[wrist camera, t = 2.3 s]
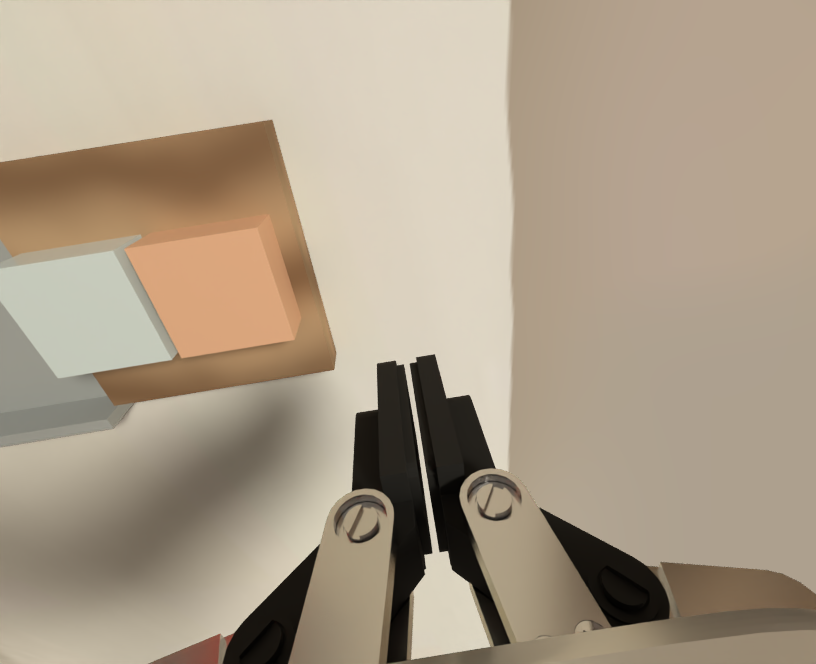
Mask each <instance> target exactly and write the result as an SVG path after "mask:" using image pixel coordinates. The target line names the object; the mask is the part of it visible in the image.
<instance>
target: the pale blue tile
mask: <svg viewBox="0 0 816 664" xmlns="http://www.w3.org/2000/svg"><path fill="white" fill-rule="evenodd" d="M141 238H142V237H141V234H140V235H134V236H128V237H121V238H115V239H109V240H103V241H96V242H90V243H84V244H78V245H71V246H65V247H59V248H52V249H46V250H40V251H34V252H27V253H21V254H19V255H17V256H14V257H12V258H10V259H7V260H5V261H3V262H1V263H0V301H1V303H2V304H3V305H4V307H5V308H6V310H7V311H8V312H9V314H10V315H11V316H12V318H13V319H14V320H15V322H16V323H17V324H18V326H19V327H20V328H21V330H22V331H23V332H24V334H25V335H26V336H27V338H28V339H29V340H30V342H31V343H32V344H33V346H34V347H35V348H36V350H37V351H38V352H39V354H40V355H41V356H42V358H43V359H44V360H45V362H46V363H47V364H48V366H49V367H50V368H51V370H52V371H53V372H54V374H55V375H56V376H57V378H64V377H70V376H76V375H83V374H89V373H95V372H101V371H107V370H113V369H119V368H126V367H132V366H138V365H144V364H150V363H156V362H162V361H168V360H172V359H173V358H174V357H175V355H176V354H177V353H178V351H177V349H176V347H175V345H174V343H173V341H172V339H171V337H170V336H169V334H168V332H167V330H166V328H165V326H164V324H163V322H162V320H161V318H160V317H159V315H158V313H157V311H156V309H155V307H154V305H153V303H152V301H151V299H150V298H149V296H148V294H147V292H146V290H145V288H144V286H143V284H142V282H141V280H140V279H139V277H138V275H137V273H136V271H135V269H134V267H133V265H132V263H131V261H130V259H129V258H128V256H127V254H126V252H125V250H124V249H125V248H126V247H128V246H130V245H131V244H133V243H135V242H136V241H138V240H139V239H141Z"/></svg>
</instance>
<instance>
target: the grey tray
mask: <svg viewBox="0 0 816 664" xmlns="http://www.w3.org/2000/svg"><path fill="white" fill-rule="evenodd" d="M10 258H12V256H11V254H10V253H9V251H8V250H7V248H6V247H5V245H4V244H3V243H2V241H1V240H0V263H1V262H3V261H5V260H7V259H10ZM132 404H133V403H129V404H123V405H117V406H114V405H113V403H112V402H111V400H110V399H109V397H108V396H107V394H106V393H105V391H104V390H103V389H102V387H101V386H100V384H99V383H98V381H97V380H96V378H95V377H94V375H93V374H92V373H89V374H83V375H76V376H70V377H64V378H57V376H56V375H55V374H54V372H53V371H52V370H51V368H50V367H49V366H48V364H47V363H46V362H45V360H44V359H43V358H42V356H41V355H40V354H39V352H38V351H37V350H36V348H35V347H34V346H33V344H32V343H31V342H30V340H29V339H28V338H27V336H26V335H25V334H24V332H23V331H22V330H21V328H20V327H19V326H18V324H17V323H16V322H15V320H14V319H13V318H12V316H11V315H10V314H9V312H8V311H7V310H6V308H5V307H4V305H3V304H2V303H1V301H0V447H6V446H12V445H18V444H24V443H30V442H36V441H42V440H48V439H54V438H60V437H66V436H72V435H79V434H85V433H91V432H97V431H103V430H109V429H114V428H115V426H116V425H117V424H118V423H119V421H120V420H121V419H122V417H123V416H124V415H125V414H126V412H127V411H128V410H129V408H130V407H131V406H132Z"/></svg>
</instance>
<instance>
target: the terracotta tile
mask: <svg viewBox="0 0 816 664" xmlns="http://www.w3.org/2000/svg"><path fill="white" fill-rule="evenodd" d="M124 250H125V252H126V254H127V256H128V258H129V259H130V261H131V263H132V265H133V267H134V269H135V271H136V273H137V275H138V277H139V279H140V280H141V282H142V284H143V286H144V288H145V290H146V292H147V294H148V296H149V298H150V299H151V301H152V303H153V305H154V307H155V309H156V311H157V313H158V315H159V317H160V318H161V320H162V322H163V324H164V326H165V328H166V330H167V332H168V334H169V336H170V337H171V339H172V341H173V343H174V345H175V347H176V349H177V351H178V353H179V355H180V357H181V358H187V357H193V356H199V355H205V354H211V353H218V352H224V351H230V350H236V349H242V348H248V347H254V346H260V345H267V344H273V343H279V342H285V341H291V340H295V337H296V334H297V331H298V327H299V324H300V321H301V315H300V311H299V308H298V305H297V302H296V299H295V295H294V292H293V289H292V286H291V283H290V279H289V276H288V273H287V270H286V267H285V264H284V260H283V257H282V254H281V251H280V248H279V244H278V241H277V238H276V235H275V232H274V228H273V225H272V222H271V219H270V216H269V214H266V215H260V216H253V217H247V218H241V219H234V220H228V221H222V222H216V223H209V224H203V225H197V226H191V227H184V228H178V229H172V230H165V231H159V232H153V233H149V234H148V235H146V236H144V237H143V238H141V239H139V240H138V241H136V242H135V243H133V244H131V245H130V246H128V247H126V248H125V249H124Z"/></svg>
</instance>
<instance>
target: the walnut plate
mask: <svg viewBox="0 0 816 664" xmlns="http://www.w3.org/2000/svg"><path fill="white" fill-rule="evenodd" d="M266 214H269V216H270V219H271V222H272V225H273V228H274V232H275V235H276V238H277V241H278V244H279V248H280V251H281V254H282V257H283V260H284V264H285V267H286V270H287V273H288V276H289V279H290V283H291V286H292V289H293V292H294V295H295V299H296V302H297V305H298V308H299V311H300V315H301V321H300V324H299V327H298V331H297V334H296V337H295V340H291V341H285V342H279V343H273V344H267V345H260V346H254V347H248V348H242V349H236V350H230V351H224V352H218V353H211V354H205V355H199V356H193V357H187V358H181V357H180V355H179V353H177V354H176V355H175V357H174V358H173V359H172V360H168V361H162V362H156V363H150V364H144V365H138V366H132V367H126V368H119V369H113V370H107V371H101V372H95V373H92V374H93V375H94V377H95V378H96V380H97V381H98V383H99V384H100V386H101V387H102V389H103V390H104V391H105V393H106V394H107V396H108V397H109V399H110V400H111V402H112V403H113V405H114V406H117V405H123V404H129V403H135V402H141V401H147V400H153V399H159V398H165V397H171V396H178V395H184V394H190V393H196V392H202V391H208V390H214V389H220V388H226V387H232V386H239V385H245V384H251V383H257V382H263V381H269V380H275V379H281V378H287V377H293V376H300V375H306V374H312V373H318V372H324V371H330V370H334V368H335V359H336V350H335V346H334V342H333V339H332V335H331V331H330V328H329V324H328V321H327V317H326V313H325V310H324V306H323V302H322V299H321V295H320V292H319V288H318V284H317V281H316V277H315V273H314V270H313V266H312V262H311V259H310V255H309V252H308V248H307V244H306V241H305V237H304V233H303V230H302V226H301V223H300V219H299V215H298V212H297V208H296V204H295V201H294V197H293V194H292V190H291V186H290V183H289V179H288V175H287V172H286V168H285V164H284V161H283V157H282V154H281V150H280V146H279V143H278V139H277V135H276V132H275V128H274V125H273V121H272V120H268V121H262V122H255V123H249V124H243V125H236V126H230V127H223V128H217V129H211V130H204V131H198V132H192V133H185V134H179V135H172V136H166V137H160V138H153V139H147V140H141V141H134V142H128V143H121V144H115V145H109V146H102V147H96V148H90V149H83V150H77V151H70V152H64V153H58V154H51V155H45V156H39V157H32V158H26V159H19V160H13V161H7V162H0V240H1V241H2V243H3V244H4V245H5V247H6V248H7V250H8V251H9V253H10V254H11V256H12V257H14V256H17V255H19V254H21V253H27V252H34V251H40V250H46V249H52V248H59V247H65V246H71V245H78V244H84V243H90V242H96V241H103V240H109V239H115V238H121V237H128V236H134V235H140V234H141V237H142V238H143V237H144V236H146V235H148V234H149V233H153V232H159V231H165V230H172V229H178V228H184V227H191V226H197V225H203V224H209V223H216V222H222V221H228V220H234V219H241V218H247V217H253V216H260V215H266Z"/></svg>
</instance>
